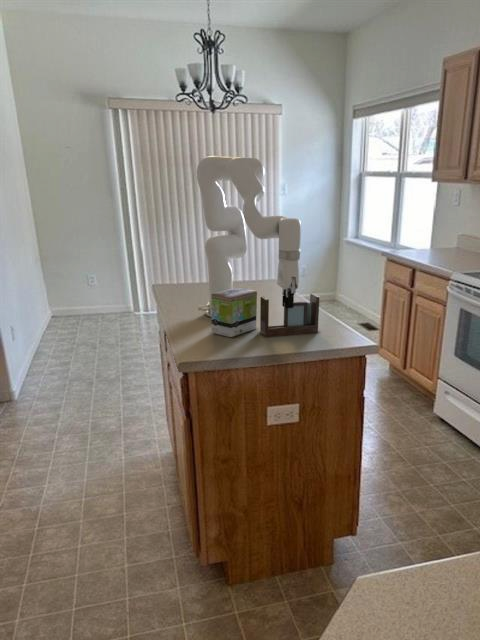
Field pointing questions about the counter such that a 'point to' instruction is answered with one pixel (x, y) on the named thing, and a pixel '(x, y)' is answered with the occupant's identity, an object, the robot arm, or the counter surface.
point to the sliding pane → (296, 314)
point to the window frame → (281, 330)
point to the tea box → (234, 311)
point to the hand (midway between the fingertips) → (287, 306)
